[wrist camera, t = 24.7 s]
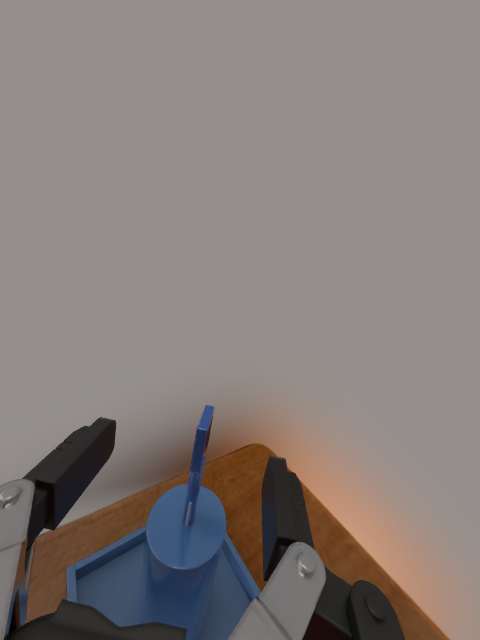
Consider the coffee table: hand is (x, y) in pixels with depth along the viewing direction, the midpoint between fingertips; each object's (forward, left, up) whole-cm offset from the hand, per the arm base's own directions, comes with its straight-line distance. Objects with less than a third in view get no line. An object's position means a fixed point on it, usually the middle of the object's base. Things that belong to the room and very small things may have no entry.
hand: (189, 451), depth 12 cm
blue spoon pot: (-1, +4, -21) cm, 21 cm away
